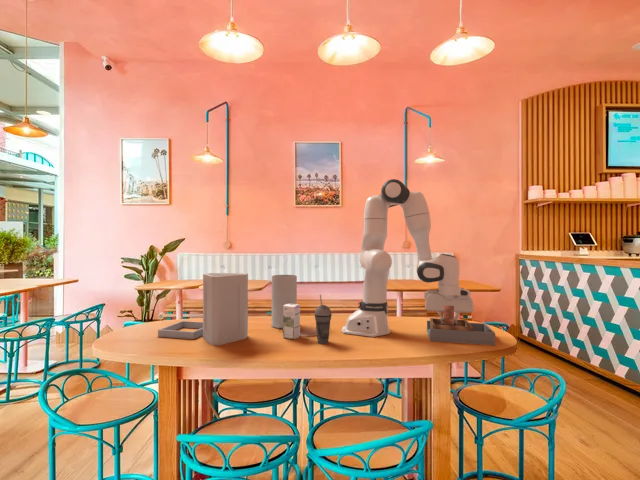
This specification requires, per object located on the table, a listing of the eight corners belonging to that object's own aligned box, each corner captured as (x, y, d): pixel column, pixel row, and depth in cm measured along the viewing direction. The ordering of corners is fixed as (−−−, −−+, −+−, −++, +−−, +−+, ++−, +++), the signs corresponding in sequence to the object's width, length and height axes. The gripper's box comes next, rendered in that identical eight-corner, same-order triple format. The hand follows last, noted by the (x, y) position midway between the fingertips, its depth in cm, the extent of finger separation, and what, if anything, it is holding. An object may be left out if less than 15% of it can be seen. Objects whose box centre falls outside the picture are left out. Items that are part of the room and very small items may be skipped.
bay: (430, 341, 147) (430, 329, 147) (426, 330, 164) (426, 320, 164) (495, 345, 141) (495, 333, 141) (484, 334, 158) (485, 323, 158)
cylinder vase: (295, 329, 167) (295, 277, 167) (269, 328, 167) (269, 277, 167) (297, 322, 179) (297, 274, 179) (273, 322, 179) (273, 274, 179)
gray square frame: (158, 336, 152) (158, 329, 152) (182, 326, 170) (182, 320, 170) (193, 339, 149) (193, 332, 149) (214, 329, 166) (214, 322, 166)
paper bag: (192, 344, 141) (192, 276, 141) (206, 334, 156) (207, 272, 156) (237, 346, 139) (238, 276, 140) (248, 335, 154) (248, 273, 154)
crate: (432, 337, 148) (433, 325, 148) (430, 329, 162) (430, 318, 162) (472, 339, 145) (472, 327, 145) (466, 331, 159) (466, 319, 159)
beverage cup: (330, 345, 141) (330, 296, 141) (312, 344, 142) (312, 295, 142) (332, 340, 148) (333, 293, 148) (316, 339, 149) (316, 293, 149)
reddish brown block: (444, 332, 152) (444, 305, 152) (443, 330, 156) (443, 303, 156) (454, 333, 151) (453, 305, 151) (452, 330, 155) (452, 304, 155)
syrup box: (300, 336, 154) (300, 303, 154) (294, 339, 148) (294, 306, 148) (289, 334, 156) (289, 302, 156) (282, 338, 151) (282, 305, 151)
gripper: (424, 290, 153) (424, 321, 153) (474, 292, 148) (474, 324, 148) (423, 288, 159) (423, 318, 159) (471, 290, 155) (471, 321, 155)
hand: (448, 321), depth 154 cm, fingers closed on reddish brown block, 4 cm apart
